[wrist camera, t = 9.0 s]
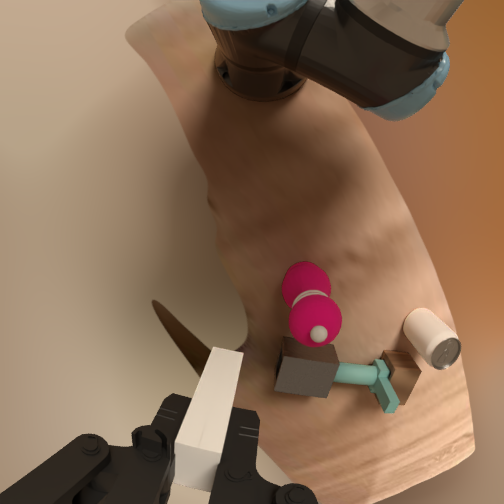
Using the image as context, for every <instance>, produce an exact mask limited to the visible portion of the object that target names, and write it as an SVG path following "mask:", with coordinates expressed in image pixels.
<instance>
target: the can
mask: <svg viewBox="0 0 504 504" xmlns="http://www.w3.org/2000/svg"><path fill="white" fill-rule="evenodd" d="M403 331H404V334H405V336H406V337H407V338H408V340H409V341H410V342H411V343H412V345H413V346H414V347H415V349H416V350H417V351H418V352H419V354H420V355H421V356H422V357H423V359H424V360H425V361H426V362H427V364H429V365H430V366H432V367H434V368H435V369H438V370H442V369H446V368H448V367H449V366H451V365H452V364H453V363H454V362H455V361H456V360H457V358H458V357H459V355H460V352H461V343H460V341H459V339H458V336H457V335H456V334H455V332H454V331H452V330H451V329H450V328H449V327H448V326H447V325H446V324H445V323H444V322H443V321H442V320H440V319H439V318H438V317H437V316H436V315H435V314H434V313H433V312H431V311H430V310H429V309H427V308H417V309H415V310H413V311H412V312H411V313H410V314H409V315H408V316H407V318H406V319H405V322H404V325H403Z"/></svg>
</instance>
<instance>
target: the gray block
mask: <svg viewBox="0 0 504 504" xmlns="http://www.w3.org/2000/svg"><path fill="white" fill-rule="evenodd" d="M339 365H340V363H339V360H338V357H337V354H336V351H335V348H334V345H331V344H327V345H324V346H321V347H308V346H305V345H303V344H301V343H300V342H298V341H297V340H296V339H295V338H289V337H283V340H282V344H281V348H280V352H279V355H278V359H277V363H276V366H275V374H274V391H278V392H284V393H291V394H298V395H305V396H313V397H321V398H327V396H328V394H329V391H330V389H331V386H332V384H333V381H334V379H335V376H336V373H337V371H338V368H339Z"/></svg>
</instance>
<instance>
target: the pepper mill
mask: <svg viewBox="0 0 504 504" xmlns="http://www.w3.org/2000/svg"><path fill="white" fill-rule="evenodd" d="M330 293H331V285H330V281H329V278H328V276H327V274H326V273H325V272H324V271H323V270H322V269H320V268H319V267H318V266H316V265H315V264H313V263H311V262H298V263H296V264H294V265H293V266H291V267H290V268H289V270H288V271H287V273H286V275H285V278H284V280H283V284H282V294H283V297H284V300H285V302H286V304H287V305H288V306H289V307H290V308H291V309H292V310H291V312H290V314H289V328H290V331H291V333H292V335H293V337H294V338H295V339H296V340H297V341H298V342H300V343H301V344H303V345H305V346H308V347H321V346H324V345H327V344H328V343H330V342H331V341H333V340H334V339H335V337H336V336H337V335H338V333H339V331H340V328H341V324H342V316H341V312H340V309H339V307H338V306H337V304H336V303H335V302H334V301H333V300H332V299H330V298H329V297H330Z"/></svg>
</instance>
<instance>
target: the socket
mask: <svg viewBox="0 0 504 504" xmlns="http://www.w3.org/2000/svg"><path fill="white" fill-rule="evenodd" d="M380 360H384V362H385V364H386V366H387V367H388V368H389V369H390V371H391V375H390V377H389V379H388V380H389V381H390V383H391V385H392V387H393V389H394V391H395V393H396V395H397V397H398V399H399V401H400V403H399V405H405V403H406V401H407V399H408V398H409V396H410V394H411V392H412V390H413V388H414V386H415V384H416V382H417V380H418V378H419V376H420V374H421V370H420V368H419V367H418V365H417V364H416V363H415V361H414V360H413V358H412V357H411V356H410V354H409V353H406V352H397V351H388V350H384V351H383V354H382V356H381V358H380ZM374 394H375V396H376V399H377V401H378V403H379V404H380V402H379V399H378V397H377V395H376V393H374Z"/></svg>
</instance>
